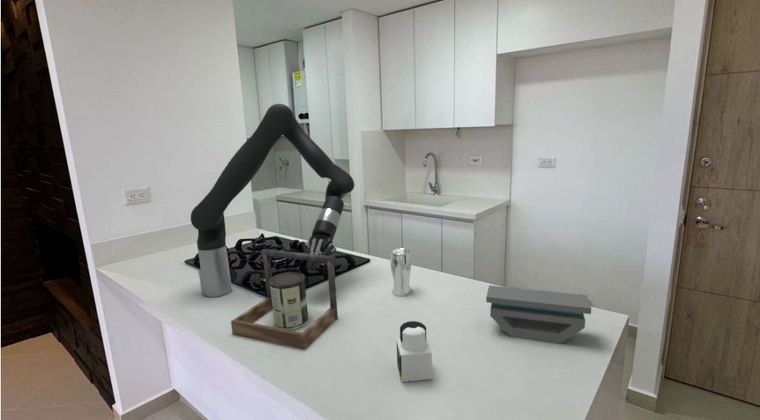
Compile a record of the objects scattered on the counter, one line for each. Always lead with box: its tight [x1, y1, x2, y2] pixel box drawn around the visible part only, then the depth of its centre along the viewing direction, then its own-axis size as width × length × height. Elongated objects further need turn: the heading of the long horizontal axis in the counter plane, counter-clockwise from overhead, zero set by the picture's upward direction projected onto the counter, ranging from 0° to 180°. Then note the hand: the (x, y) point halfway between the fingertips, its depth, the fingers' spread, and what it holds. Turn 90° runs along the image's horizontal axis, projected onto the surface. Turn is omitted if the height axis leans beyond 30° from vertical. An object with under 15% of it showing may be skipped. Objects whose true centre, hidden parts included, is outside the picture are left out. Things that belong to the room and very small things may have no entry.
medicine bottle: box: [396, 320, 433, 383], centre depth 91 cm, size 7×7×12 cm
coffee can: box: [269, 271, 310, 331], centre depth 117 cm, size 10×10×14 cm
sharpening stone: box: [485, 285, 592, 345], centre depth 105 cm, size 25×8×11 cm, turn 70°
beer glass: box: [390, 247, 412, 297], centre depth 134 cm, size 7×7×15 cm
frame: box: [230, 248, 339, 350], centre depth 114 cm, size 18×25×20 cm
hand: (310, 270), depth 127 cm, fingers closed
